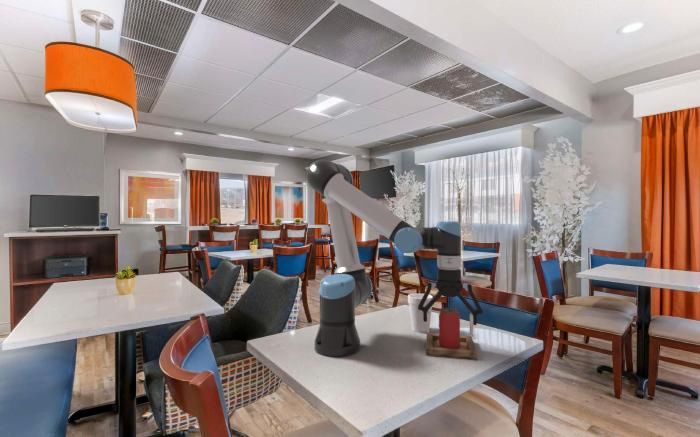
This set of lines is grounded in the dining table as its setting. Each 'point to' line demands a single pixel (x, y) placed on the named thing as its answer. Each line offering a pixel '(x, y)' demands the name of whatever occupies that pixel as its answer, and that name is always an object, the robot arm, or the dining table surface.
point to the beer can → (449, 328)
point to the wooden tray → (463, 352)
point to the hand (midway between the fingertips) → (449, 333)
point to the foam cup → (418, 312)
